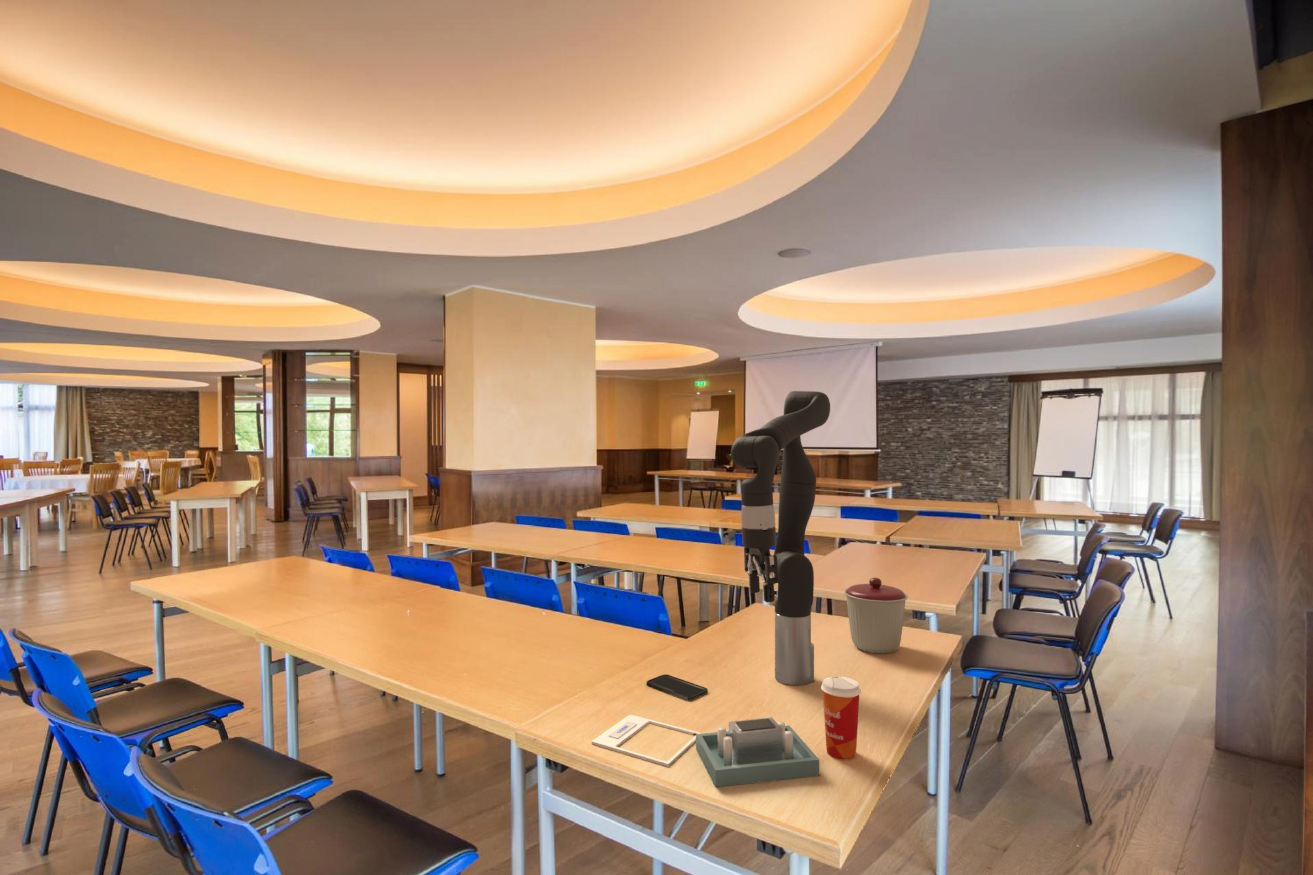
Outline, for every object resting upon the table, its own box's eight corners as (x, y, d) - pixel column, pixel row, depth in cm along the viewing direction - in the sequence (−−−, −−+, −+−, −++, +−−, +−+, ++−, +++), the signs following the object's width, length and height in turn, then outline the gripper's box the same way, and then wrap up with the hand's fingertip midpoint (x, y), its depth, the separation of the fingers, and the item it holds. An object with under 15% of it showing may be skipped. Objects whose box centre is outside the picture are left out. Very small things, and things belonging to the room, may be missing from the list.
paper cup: (815, 744, 128) (815, 675, 128) (852, 742, 128) (851, 674, 128) (829, 763, 120) (829, 691, 120) (868, 762, 120) (868, 689, 120)
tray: (789, 739, 129) (789, 710, 129) (819, 775, 116) (819, 743, 116) (696, 749, 126) (695, 719, 126) (715, 786, 112) (715, 753, 112)
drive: (737, 765, 117) (737, 732, 117) (728, 752, 122) (728, 720, 122) (782, 759, 119) (782, 727, 119) (771, 747, 124) (771, 716, 124)
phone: (665, 673, 164) (709, 688, 154) (665, 677, 164) (709, 693, 154) (644, 681, 159) (688, 698, 148) (644, 686, 159) (688, 703, 148)
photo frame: (630, 713, 141) (701, 732, 132) (630, 718, 141) (701, 737, 132) (591, 740, 128) (668, 762, 119) (591, 745, 128) (668, 768, 119)
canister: (855, 635, 199) (855, 569, 199) (914, 645, 188) (914, 576, 189) (835, 650, 184) (835, 579, 185) (898, 663, 174) (898, 587, 174)
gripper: (732, 522, 146) (735, 591, 146) (754, 530, 132) (758, 606, 132) (762, 519, 148) (765, 588, 148) (787, 527, 134) (790, 603, 134)
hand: (761, 596), depth 140 cm, fingers open, 8 cm apart
